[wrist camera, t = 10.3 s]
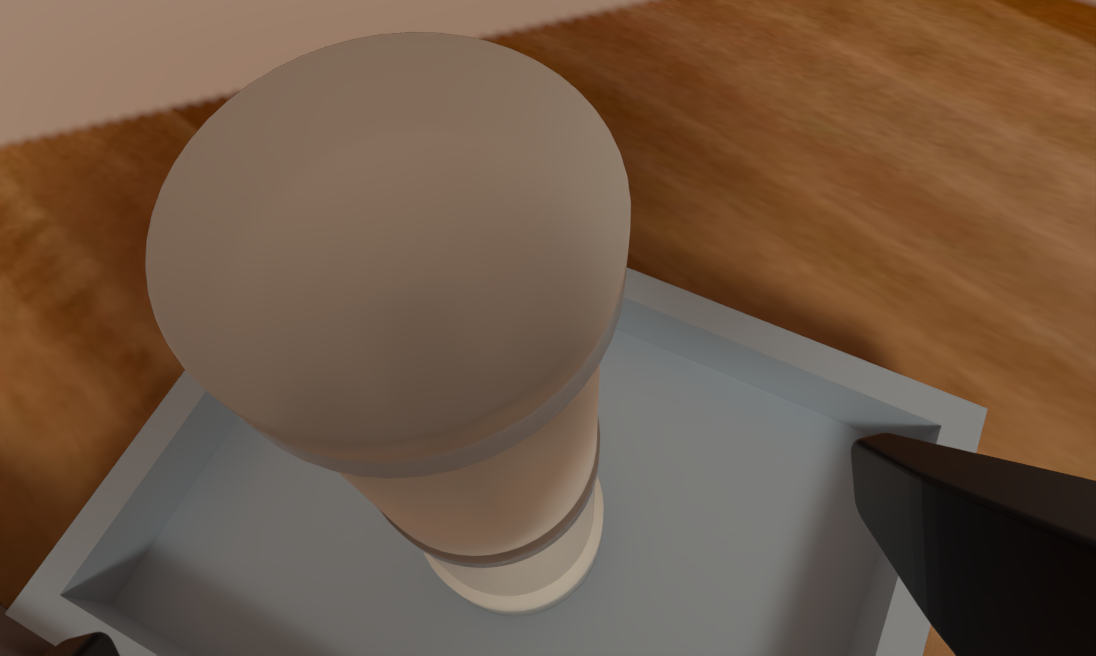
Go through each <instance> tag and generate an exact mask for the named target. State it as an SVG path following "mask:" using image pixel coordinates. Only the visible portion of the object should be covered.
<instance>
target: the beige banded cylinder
mask: <svg viewBox="0 0 1096 656" xmlns="http://www.w3.org/2000/svg"><path fill="white" fill-rule="evenodd" d="M630 218H631V200H630V193H629V185H628V177H627V174H626V171H625V167H624V164H623V160H622V157H621V154H620V151H619V149H618V147H617V145H616V143H615V141H614V139H613V136H612V134H611V132H610V130H609V129H608V127H607V126H606V124H605V123H604V121H603V120H602V118H601V117H600V115H599V114H598V112H597V111H596V109H595V108H594V107H593V106H592V105H591V104H590V103H589V102H588V101H587V100H586V99H585V97H584V96H583V95H582V94H581V93H580V92H579V91H578V90H577V89H576V88H574V87H573V86H572V85H571V84H570V83H568V82H567V81H566V80H565V79H564V78H562V77H561V76H560V75H559V74H557V73H556V72H554V71H552V70H551V69H549V68H548V67H546V66H545V65H543V64H541V63H540V62H538V61H536V60H534V59H532V58H530V57H528V56H526V55H524V54H522V53H519V52H517V51H515V50H513V49H510V48H507V47H504V46H501V45H498V44H495V43H492V42H489V41H485V40H480V39H476V38H471V37H467V36H461V35H453V34H444V33H431V32H430V33H429V32H405V33H392V34H380V35H375V36H369V37H363V38H357V39H353V40H349V41H345V42H341V43H338V44H334V45H331V46H327V47H324V48H322V49H319V50H316V51H314V52H311V53H308V54H306V55H303V56H300V57H298V58H296V59H294V60H292V61H290V62H288V63H286V64H284V65H282V66H280V67H277V68H275V69H274V70H272V71H270V72H269V73H267V74H266V75H264V76H262V77H261V78H259V79H257V80H256V81H254V82H252V83H251V84H249V85H248V86H247V87H245V88H244V89H243V90H241V91H240V92H239V93H237V94H236V95H235V96H233V97H232V98H231V99H229V100H228V101H227V102H226V103H225V104H224V105H223V106H222V107H221V108H220V109H218V110H217V111H216V112H215V113H214V114H213V115H212V116H211V117H210V118H209V119H208V120H207V121H206V122H205V123H204V124H203V125H202V127H201V128H200V129H199V130H198V131H197V132H196V134H195V135H194V136H193V137H192V138H191V139H190V140H189V142H188V143H187V145H186V146H185V148H184V149H183V151H182V152H181V154H180V155H179V157H178V158H177V159H176V161H175V162H174V164H173V166H172V168H171V170H170V172H169V174H168V176H167V178H166V180H165V181H164V183H163V185H162V187H161V190H160V193H159V195H158V198H157V201H156V204H155V207H154V209H153V212H152V216H151V221H150V226H149V231H148V236H147V242H146V261H145V269H146V278H147V288H148V295H149V298H150V302H151V306H152V309H153V313H154V316H155V320H156V322H157V324H158V326H159V328H160V330H161V333H162V335H163V337H164V339H165V341H166V343H167V345H168V347H169V348H170V349H171V351H172V352H173V354H174V355H175V356H176V358H177V359H178V361H179V362H180V364H181V365H182V366H183V368H184V369H185V370H186V371H187V372H188V373H189V374H190V375H191V376H192V377H193V378H194V379H195V380H196V381H197V382H198V383H199V384H200V385H201V386H202V387H203V388H204V389H205V390H206V391H207V392H208V393H210V394H211V395H212V396H213V397H215V398H216V399H217V400H218V401H220V402H221V403H222V404H223V405H225V406H226V407H227V408H228V409H230V410H231V411H232V412H233V413H235V414H236V415H237V416H238V417H239V418H241V419H242V420H243V421H244V422H246V423H247V424H248V425H249V426H251V427H252V428H253V429H254V430H256V431H257V432H258V433H260V434H261V435H262V436H264V437H265V438H266V439H268V440H269V441H270V442H272V443H273V444H275V445H276V446H277V447H279V448H280V449H282V450H284V451H286V452H288V453H290V454H292V455H294V456H296V457H298V458H300V459H301V460H303V461H306V462H309V463H311V464H314V465H317V466H320V467H323V468H326V469H329V470H332V471H336V472H339V473H340V474H341V475H342V476H343V477H344V478H345V479H346V480H347V481H349V482H350V483H351V484H352V485H353V486H354V487H355V488H356V489H357V490H358V491H360V492H361V493H362V494H363V495H364V496H365V497H366V498H367V499H368V500H370V501H371V502H372V503H373V504H374V505H375V506H376V507H377V508H378V509H379V510H380V511H381V512H382V514H383V515H384V516H385V518H386V519H387V520H388V522H389V523H390V524H391V525H392V526H393V527H394V528H395V529H396V530H398V531H399V532H400V533H401V534H402V535H403V536H404V537H405V538H406V539H407V540H409V541H410V542H411V543H412V544H414V545H415V546H416V547H418V548H419V549H420V550H422V551H423V552H424V554H425V556H426V558H427V560H428V562H429V563H430V565H431V567H432V568H433V569H434V571H435V572H436V573H437V575H438V576H439V577H440V578H441V579H442V580H443V581H444V582H445V583H446V584H447V585H448V586H449V587H451V588H452V589H453V590H454V591H456V592H457V593H458V594H459V595H461V596H462V597H463V598H464V599H466V600H467V601H469V602H470V603H471V604H473V605H475V606H477V607H479V608H480V609H483V610H485V611H488V612H491V613H494V614H499V615H504V616H527V615H532V614H536V613H540V612H543V611H545V610H548V609H550V608H552V607H554V606H556V605H558V604H560V603H561V602H563V601H564V600H566V599H567V598H568V597H570V596H571V595H572V594H573V593H574V592H575V591H576V590H577V589H578V588H579V587H580V586H581V584H582V583H583V582H584V581H585V579H586V578H587V576H588V575H589V573H590V571H591V570H592V567H593V565H594V563H595V561H596V558H597V555H598V552H599V549H600V543H601V537H602V526H603V510H604V505H603V495H602V490H601V486H600V482H599V479H598V476H597V472H598V467H599V453H600V427H599V419H598V399H599V374H600V362H601V360H602V358H603V356H604V354H605V352H606V350H607V348H608V346H609V344H610V342H611V340H612V337H613V334H614V331H615V329H616V326H617V323H618V320H619V317H620V312H621V307H622V301H623V296H624V291H625V280H626V269H627V258H628V248H629V237H630Z"/></svg>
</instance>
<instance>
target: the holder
mask: <svg viewBox="0 0 1096 656" xmlns="http://www.w3.org/2000/svg"><path fill="white" fill-rule="evenodd" d="M7 610H8V609H6V608H5V607H3V606H2V605H0V656H43V655H44V654H46V653H47V652H48V651H50V650H51V649H52V648H54V647H55V646H54V645H53V644H51V643H50V642H48V641H46V640H45V639H43V638H42V637H40V636H39V635H37V634H35V633H34V632H32V631H31V630H29V629H28V628H26V627H24V626H23V625H21V624H20V623H18V622H17V621H15V620H13V619H12V618H10V617H9V616H7V615H6V614H5V613H6V611H7Z"/></svg>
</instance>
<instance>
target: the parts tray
mask: <svg viewBox="0 0 1096 656" xmlns="http://www.w3.org/2000/svg"><path fill="white" fill-rule="evenodd" d="M986 413H987V408H984V407H982V406H979V405H977V404H974V403H972V402H969V401H967V400H964V399H961V398H959V397H956V396H954V395H951V394H949V393H946V392H944V391H941V390H939V389H936V388H933V387H931V386H928V385H926V384H923V383H921V382H918V381H916V380H913V379H910V378H908V377H905V376H903V375H900V374H898V373H895V372H893V371H890V370H888V369H885V368H882V367H880V366H877V365H875V364H872V363H870V362H867V361H865V360H862V359H860V358H857V357H854V356H852V355H849V354H847V353H844V352H842V351H839V350H837V349H834V348H831V347H829V346H826V345H824V344H821V343H819V342H816V341H814V340H811V339H809V338H806V337H803V336H801V335H798V334H796V333H793V332H791V331H788V330H786V329H783V328H781V327H778V326H775V325H773V324H770V323H768V322H765V321H763V320H760V319H758V318H755V317H752V316H750V315H747V314H745V313H742V312H740V311H737V310H735V309H732V308H730V307H727V306H724V305H722V304H719V303H717V302H714V301H712V300H709V299H707V298H704V297H702V296H699V295H696V294H694V293H691V292H689V291H686V290H684V289H681V288H679V287H676V286H673V285H671V284H668V283H666V282H663V281H661V280H658V279H656V278H653V277H651V276H648V275H645V274H643V273H640V272H638V271H635V270H633V269H630V268H628V267H627V269H626V280H625V291H624V296H623V301H622V307H621V312H620V317H619V320H618V323H617V326H616V329H615V331H614V334H613V337H612V340H611V342H610V344H609V346H608V348H607V350H606V352H605V354H604V356H603V358H602V360H601V362H600V374H599V399H598V419H599V427H600V453H599V467H598V472H597V476H598V479H599V482H600V486H601V490H602V495H603V505H604V510H603V526H602V537H601V543H600V549H599V552H598V555H597V558H596V561H595V563H594V565H593V567H592V570H591V571H590V573H589V575H588V576H587V578H586V579H585V581H584V582H583V583H582V584H581V586H580V587H579V588H578V589H577V590H576V591H575V592H574V593H573V594H572V595H571V596H570V597H568V598H567V599H566V600H564V601H563V602H561V603H560V604H558V605H556V606H554V607H552V608H550V609H548V610H545V611H543V612H540V613H536V614H532V615H527V616H504V615H499V614H494V613H491V612H488V611H485V610H483V609H480V608H479V607H477V606H475V605H473V604H471V603H470V602H469V601H467V600H466V599H464V598H463V597H462V596H461V595H459V594H458V593H457V592H456V591H454V590H453V589H452V588H451V587H449V586H448V585H447V584H446V583H445V582H444V581H443V580H442V579H441V578H440V577H439V576H438V575H437V573H436V572H435V571H434V569H433V568H432V567H431V565H430V563H429V562H428V560H427V558H426V556H425V554H424V552H423V551H422V550H420V549H419V548H418V547H416V546H415V545H414V544H412V543H411V542H410V541H409V540H407V539H406V538H405V537H404V536H403V535H402V534H401V533H400V532H399V531H398V530H396V529H395V528H394V527H393V526H392V525H391V524H390V523H389V522H388V520H387V519H386V518H385V516H384V515H383V514H382V512H381V511H380V510H379V509H378V508H377V507H376V506H375V505H374V504H373V503H372V502H371V501H370V500H368V499H367V498H366V497H365V496H364V495H363V494H362V493H361V492H360V491H358V490H357V489H356V488H355V487H354V486H353V485H352V484H351V483H350V482H349V481H347V480H346V479H345V478H344V477H343V476H342V475H341V474H340V473H339V472H336V471H332V470H329V469H326V468H323V467H320V466H317V465H314V464H311V463H309V462H306V461H303V460H301V459H300V458H298V457H296V456H294V455H292V454H290V453H288V452H286V451H284V450H282V449H280V448H279V447H277V446H276V445H275V444H273V443H272V442H270V441H269V440H268V439H266V438H265V437H264V436H262V435H261V434H260V433H258V432H257V431H256V430H254V429H253V428H252V427H251V426H249V425H248V424H247V423H246V422H244V421H243V420H242V419H241V418H239V417H238V416H237V415H236V414H235V413H233V412H232V411H231V410H230V409H228V408H227V407H226V406H225V405H223V404H222V403H221V402H220V401H218V400H217V399H216V398H215V397H213V396H212V395H211V394H210V393H208V392H207V391H206V390H205V389H204V388H203V387H202V386H201V385H200V384H199V383H198V382H197V381H196V380H195V379H194V378H193V377H192V376H191V375H190V374H189V373H188V372H187V371H186V370H185V371H184V372H183V373H182V375H181V376H180V377H179V379H178V380H177V381H176V383H175V384H174V386H173V387H172V388H171V390H170V391H169V392H168V394H167V395H166V396H165V398H164V399H163V400H162V402H161V403H160V404H159V406H158V407H157V409H156V410H155V411H154V413H153V414H152V415H151V417H150V418H149V419H148V421H147V422H146V423H145V425H144V426H143V427H142V429H141V430H140V432H139V433H138V434H137V436H136V437H135V438H134V440H133V441H132V442H131V444H130V445H129V446H128V448H127V449H126V450H125V452H124V453H123V455H122V456H121V457H120V459H119V460H118V461H117V463H116V464H115V465H114V467H113V468H112V469H111V471H110V472H109V473H108V475H107V476H106V478H105V479H104V480H103V482H102V483H101V484H100V486H99V487H98V488H97V490H96V491H95V492H94V494H93V495H92V496H91V498H90V499H89V501H88V502H87V503H86V505H85V506H84V507H83V509H82V510H81V511H80V513H79V514H78V515H77V517H76V518H75V519H74V521H73V522H72V524H71V525H70V526H69V528H68V529H67V530H66V532H65V533H64V534H63V536H62V537H61V538H60V540H59V541H58V542H57V544H56V545H55V547H54V548H53V549H52V551H51V552H50V553H49V555H48V556H47V557H46V559H45V560H44V561H43V563H42V564H41V565H40V567H39V568H38V570H37V571H36V572H35V574H34V575H33V576H32V578H31V579H30V580H29V582H28V583H27V584H26V586H25V587H24V588H23V590H22V591H21V593H20V594H19V595H18V597H17V598H16V599H15V601H14V602H13V603H12V605H11V606H10V607H9V609H8V610H7V611H6V613H5V614H6V615H7V616H9V617H10V618H12V619H13V620H15V621H17V622H18V623H20V624H21V625H23V626H24V627H26V628H28V629H29V630H31V631H32V632H34V633H35V634H37V635H39V636H40V637H42V638H43V639H45V640H46V641H48V642H50V643H51V644H53V645H54V646H57V645H58V644H59V643H61V642H62V641H64V640H67V639H69V638H73V637H77V636H81V635H85V634H89V633H93V632H99V631H100V632H103V633H106V634H107V635H109V636H110V637H111V639H112V640H113V642H114V644H115V646H116V648H117V650H118V652H119V655H120V656H922V655H923V651H924V648H925V644H926V640H927V636H928V633H929V629H930V625H931V624H930V622H929V621H928V620H927V618H926V617H925V615H924V614H923V612H922V611H921V609H920V608H919V607H918V605H917V604H916V602H915V601H914V599H913V597H912V596H911V594H910V593H909V591H908V590H907V588H906V587H905V585H904V584H903V582H902V581H901V579H900V577H899V576H898V574H897V573H896V571H895V570H894V568H893V567H892V565H891V564H890V562H889V561H888V559H887V557H886V556H885V554H884V553H883V551H882V550H881V548H880V547H879V545H878V544H877V542H876V540H875V539H874V537H873V536H872V534H871V533H870V531H869V530H868V528H867V527H866V525H865V524H864V522H863V520H862V519H861V517H860V515H859V513H858V510H857V507H856V504H855V499H854V488H853V476H852V464H851V446H852V444H853V442H854V441H855V440H857V439H859V438H863V437H867V436H870V435H874V434H878V433H885V432H886V433H892V434H896V435H900V436H905V437H909V438H913V439H918V440H922V441H926V442H930V443H935V444H939V445H943V446H948V447H952V448H956V449H961V450H965V451H969V452H974V453H976V451H977V447H978V443H979V440H980V436H981V432H982V428H983V424H984V421H985V417H986Z"/></svg>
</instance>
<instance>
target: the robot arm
mask: <svg viewBox="0 0 1096 656" xmlns="http://www.w3.org/2000/svg"><path fill="white" fill-rule="evenodd" d="M851 464H852V476H853V488H854V499H855V504H856V507H857V510H858V513H859V515H860V517H861V519H862V520H863V522H864V524H865V525H866V527H867V528H868V530H869V531H870V533H871V534H872V536H873V537H874V539H875V540H876V542H877V544H878V545H879V547H880V548H881V550H882V551H883V553H884V554H885V556H886V557H887V559H888V561H889V562H890V564H891V565H892V567H893V568H894V570H895V571H896V573H897V574H898V576H899V577H900V579H901V581H902V582H903V584H904V585H905V587H906V588H907V590H908V591H909V593H910V594H911V596H912V597H913V599H914V601H915V602H916V604H917V605H918V607H919V608H920V609H921V611H922V612H923V614H924V615H925V617H926V618H927V620H928V621H929V622H930V624H931V625H932V626H933V627H934V629H935V630H936V631H937V633H938V634H939V635H940V636H941V638H942V639H943V640H944V641H945V643H946V644H947V645H948V646H949V648H950V649H951V650H952V651H953V652H954V654H955V655H956V656H1096V481H1094V480H1090V479H1085V478H1081V477H1077V476H1073V475H1068V474H1064V473H1060V472H1055V471H1051V470H1047V469H1042V468H1038V467H1034V466H1029V465H1025V464H1021V463H1017V462H1012V461H1008V460H1004V459H999V458H995V457H991V456H986V455H982V454H978V453H974V452H969V451H965V450H961V449H956V448H952V447H948V446H943V445H939V444H935V443H930V442H926V441H922V440H918V439H913V438H909V437H905V436H900V435H896V434H892V433H886V432H885V433H878V434H874V435H870V436H867V437H863V438H859V439H857V440H855V441H854V442H853V444H852V446H851ZM43 656H120V655H119V652H118V650H117V648H116V646H115V644H114V642H113V640H112V639H111V637H110V636H109V635H107V634H106V633H103V632H100V631H99V632H93V633H89V634H85V635H81V636H77V637H73V638H69V639H67V640H64V641H62V642H61V643H59V644H58V645H57V646H55V647H54V648H52V649H51V650H50V651H48V652H47V653H46V654H44V655H43Z"/></svg>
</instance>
